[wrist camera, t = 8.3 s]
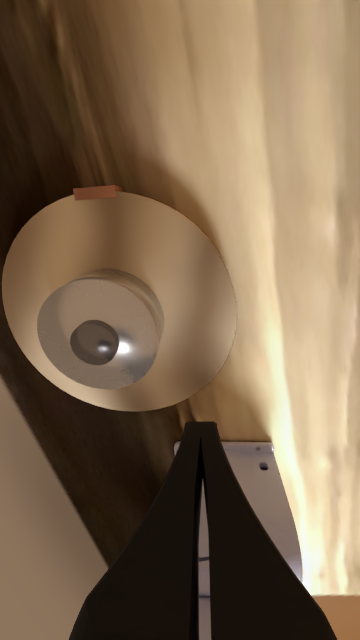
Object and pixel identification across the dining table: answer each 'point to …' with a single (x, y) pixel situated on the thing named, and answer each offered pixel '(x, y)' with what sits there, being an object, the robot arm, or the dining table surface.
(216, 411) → the dining table surface
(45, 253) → the turntable
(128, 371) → the cover
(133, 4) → the dining table surface
